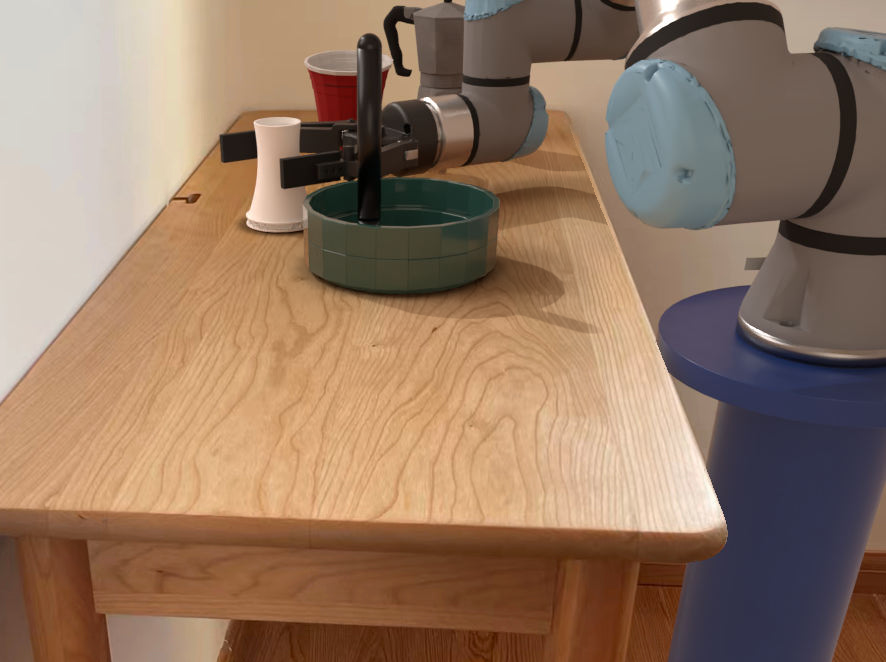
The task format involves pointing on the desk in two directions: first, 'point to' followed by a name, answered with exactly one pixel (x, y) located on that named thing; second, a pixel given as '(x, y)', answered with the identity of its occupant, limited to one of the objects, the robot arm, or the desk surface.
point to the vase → (276, 177)
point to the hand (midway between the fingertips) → (250, 161)
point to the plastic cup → (338, 83)
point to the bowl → (402, 236)
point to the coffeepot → (431, 46)
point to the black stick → (369, 128)
